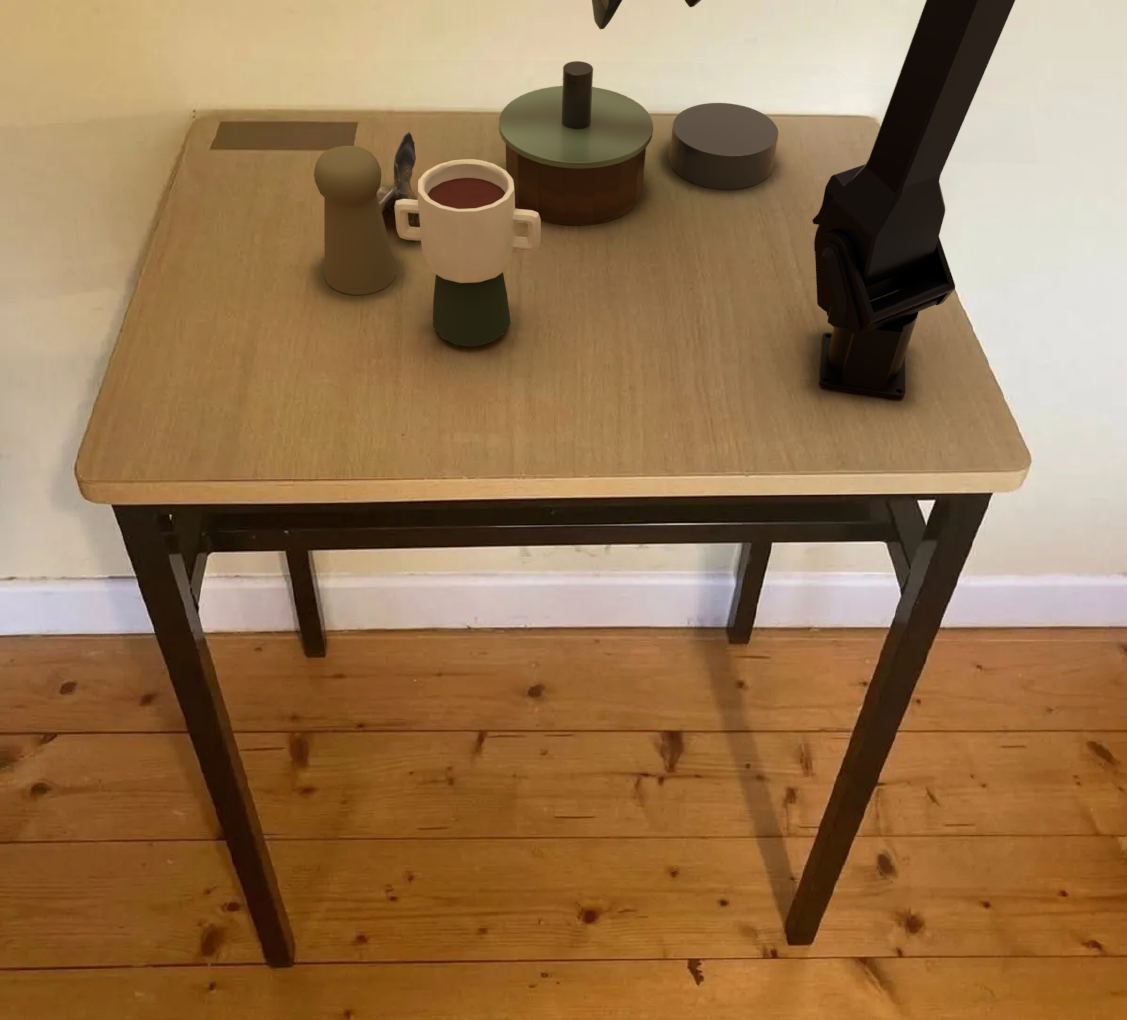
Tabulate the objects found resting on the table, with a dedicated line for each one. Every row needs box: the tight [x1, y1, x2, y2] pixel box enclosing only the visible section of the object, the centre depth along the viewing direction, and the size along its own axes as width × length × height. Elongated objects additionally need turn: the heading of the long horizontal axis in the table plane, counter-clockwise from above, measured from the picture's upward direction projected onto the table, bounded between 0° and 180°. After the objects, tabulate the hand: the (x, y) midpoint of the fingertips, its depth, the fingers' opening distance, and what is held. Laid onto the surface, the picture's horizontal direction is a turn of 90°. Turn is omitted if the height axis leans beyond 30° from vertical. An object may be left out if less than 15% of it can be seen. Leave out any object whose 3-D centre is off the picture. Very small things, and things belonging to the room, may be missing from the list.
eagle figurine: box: [377, 131, 420, 243], centre depth 98 cm, size 8×7×9 cm
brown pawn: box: [313, 145, 397, 296], centre depth 91 cm, size 6×6×11 cm
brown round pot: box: [504, 142, 647, 226], centre depth 102 cm, size 13×13×6 cm
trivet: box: [669, 102, 779, 190], centre depth 107 cm, size 10×10×4 cm
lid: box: [498, 60, 654, 169], centre depth 98 cm, size 14×14×6 cm
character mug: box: [394, 158, 542, 348], centre depth 85 cm, size 11×7×13 cm, turn 83°
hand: (644, 14), depth 95 cm, fingers open, 9 cm apart
